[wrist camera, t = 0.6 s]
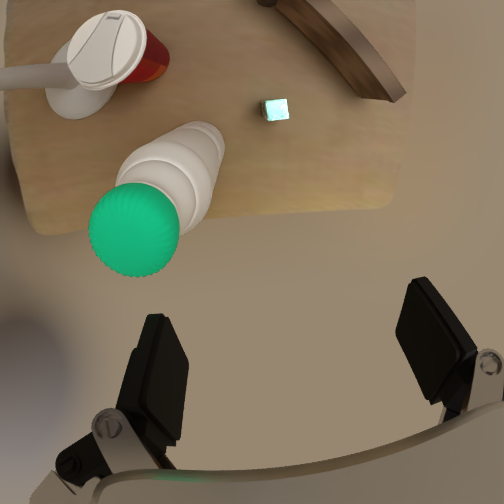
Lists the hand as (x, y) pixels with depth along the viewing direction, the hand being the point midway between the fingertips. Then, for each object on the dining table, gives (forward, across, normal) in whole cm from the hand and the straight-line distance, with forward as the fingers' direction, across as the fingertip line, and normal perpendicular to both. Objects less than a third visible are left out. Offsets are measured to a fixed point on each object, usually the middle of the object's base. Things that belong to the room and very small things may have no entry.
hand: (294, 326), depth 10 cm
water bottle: (+29, +7, -3) cm, 30 cm away
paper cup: (+29, +12, -16) cm, 35 cm away
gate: (+28, -10, -14) cm, 33 cm away
